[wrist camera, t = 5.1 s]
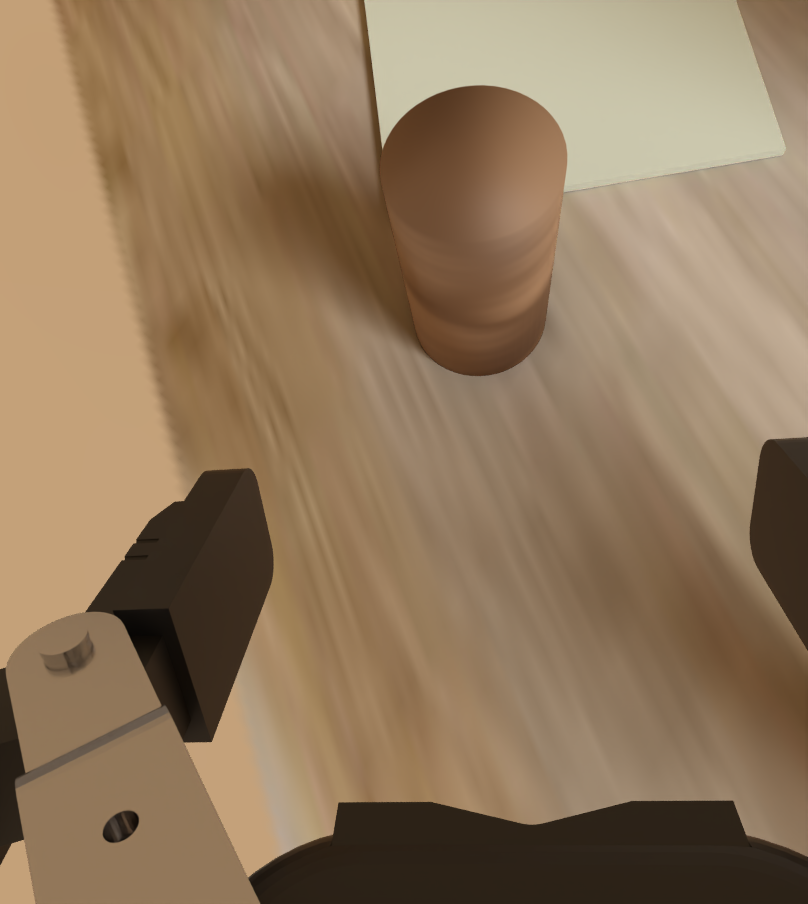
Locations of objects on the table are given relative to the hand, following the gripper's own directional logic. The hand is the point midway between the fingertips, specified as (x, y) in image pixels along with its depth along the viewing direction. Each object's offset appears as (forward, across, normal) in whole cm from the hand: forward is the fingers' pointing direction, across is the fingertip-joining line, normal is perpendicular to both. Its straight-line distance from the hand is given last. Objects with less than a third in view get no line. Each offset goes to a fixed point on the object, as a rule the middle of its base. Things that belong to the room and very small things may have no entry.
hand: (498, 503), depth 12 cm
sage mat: (+27, -4, -6) cm, 28 cm away
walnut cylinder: (+18, 0, +2) cm, 18 cm away
